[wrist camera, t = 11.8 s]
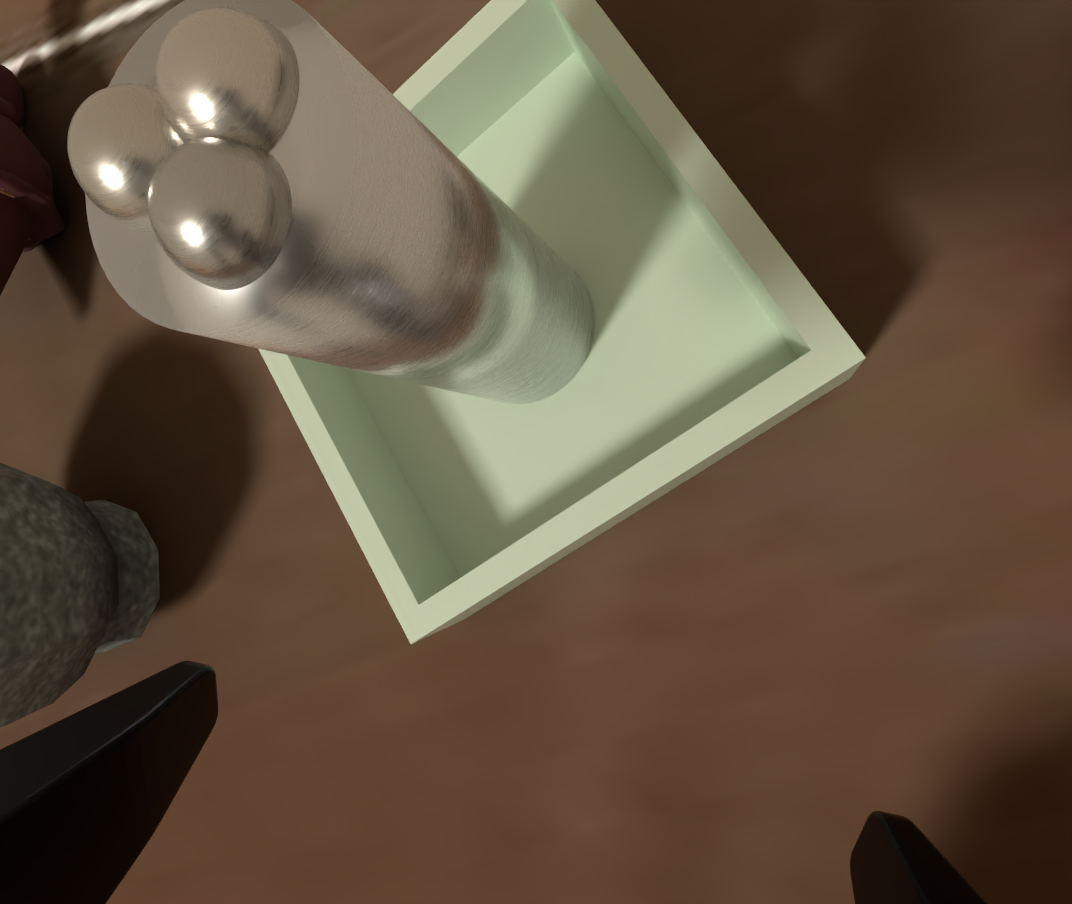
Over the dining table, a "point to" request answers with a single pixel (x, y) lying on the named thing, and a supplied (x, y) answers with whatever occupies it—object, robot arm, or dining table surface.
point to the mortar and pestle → (65, 587)
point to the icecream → (21, 183)
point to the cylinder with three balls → (313, 212)
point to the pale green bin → (619, 333)
